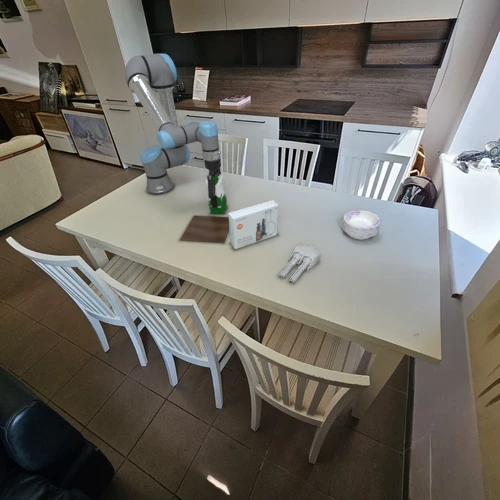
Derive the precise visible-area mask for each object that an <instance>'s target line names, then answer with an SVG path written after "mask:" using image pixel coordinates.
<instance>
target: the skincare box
mask: <svg viewBox="0 0 500 500" xmlns="http://www.w3.org/2000/svg"><path fill="white" fill-rule="evenodd" d="M279 207H280V206H279V203H277V202H276V201H275V200H274V199H271V200H269V201H268V200H267V201H264V202H261V203H258V204H254V205H250V206H248V207H247V206H246V207H244V208H241V209H237V210H233V211H231V212H228V213H227V216H228V217H229V238H230V239H229V240H230V245H231V247H233V249H234V250H238V249H240V248H244V247H246V246H249V245H252V244H255V243H258V242H261V241H263V240H266V239H267V240H268V239H269V238H273V237H275V236H277V235H278V225H279V224H278V222H279Z"/></svg>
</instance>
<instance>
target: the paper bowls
mask: <svg viewBox="0 0 500 500" xmlns="http://www.w3.org/2000/svg"><path fill="white" fill-rule="evenodd" d="M381 224H382V220H381V218H380V217H379V215H377V214H375V213H374V212H371V211H368V210H363V209H354V210H349V211H347V212H346V213H344V214H343V216H342V222H341V228H342V230H343V231H344V232H345V233H346V234H347V236H349V237H350V238H353V239H356V240H368V239H369V238H373V237H375V236H376V235H377V234H378V233H379V231H380V227H381Z"/></svg>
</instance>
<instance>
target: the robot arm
mask: <svg viewBox="0 0 500 500" xmlns="http://www.w3.org/2000/svg"><path fill="white" fill-rule="evenodd" d="M177 73H178V72H177V68H176V66H175V63H174V61H173V60H172V58H171V57H170V56H169V55H168V54H167V53H158V52H157V53H152V54H143V55H135V56H133V57H131V58H130V59H129V60H128V61H127V63H126V65H125V68H124V79H125V83H126V86H127V88H129V90H130V91H131V92H132V94H135V96H136V98H137V99H138V100H139V102H140V104H141V106H142V107H143V109H144V111H145V112H146V115H147V116H148V117H149V119H150V121H151V122H152V124H153V125H154V127H155V128H156V130H157V133H156V139H157V142H158V145H154V146H153V145H151V146H149V147H146V148H144V149H142V151H141V152H140V161H141V163H142V166H143V170H144V173H145V176H146V191H147V193H148V194H150V195H163V194H167V193H169V192H170V191H172V190H173V189H174V183H173V181H172V179H171V178H170V177H169V175H168V171H167V170H169V169H172V168H176V167H179V166H183V165H185V164H188V163H189V161H190V159H191V152H190V149H189V144H192V143H196V142H197V143H200V144H201V149H202V150H201V151H202V157H203V163H204V168H205V169H206V170H208V174H209V175H208V174H207V176H206V178H207V179H208V196H209V197H210V198H211V204H212V208H218V205H217V198H216V195H215V190H216V187H215V183H214V177H215V176H219V175H220V174H222V171H221V167H222V160H221V154H222V152H221V151H220V143H219V132H218V127H217V123H216V122H215V121H212V120H204V121H201V122H198V121H194V120H192V121H189V122H188V123H186V125H185V124H184V125H182V126H181V125H180V126H179V122H178V117H177V111H176V105H175V101H174V94H173V89H174V88H175V82H176V81H177V79H178V74H177ZM208 196H207V197H208Z"/></svg>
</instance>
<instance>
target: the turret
mask: <svg viewBox="0 0 500 500" xmlns="http://www.w3.org/2000/svg"><path fill="white" fill-rule="evenodd" d="M321 255H322V253H321V252H320V251H319V249H317V248H316V246H314V245H310V244H299V245H296V246H295V247H294V249H293V251H292V253H291V254H290V256H289V259H288V261H287V265H286V266H285V267H284V268H283V270H282V271H280V273H279V275H278V277H281V278H282V279H284V278H285V277H286V276H287V275H288V274H289V273H290V271H291V270H292V269H293V268H294V267H295V266H296V265H299V266H298V268H297V269H296V271H294V273H293V274H292V276H290V278H289V280H288V282H291V283H292V284H294V283H295V282H296V281H297V279H298V278H299V277H300V276H301V274H303V272H304V271H305V270H306V271H309V270H311V269H312V268H313V267H315V266H316V264H317V263H318V261H319V259H320V258H321Z"/></svg>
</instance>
